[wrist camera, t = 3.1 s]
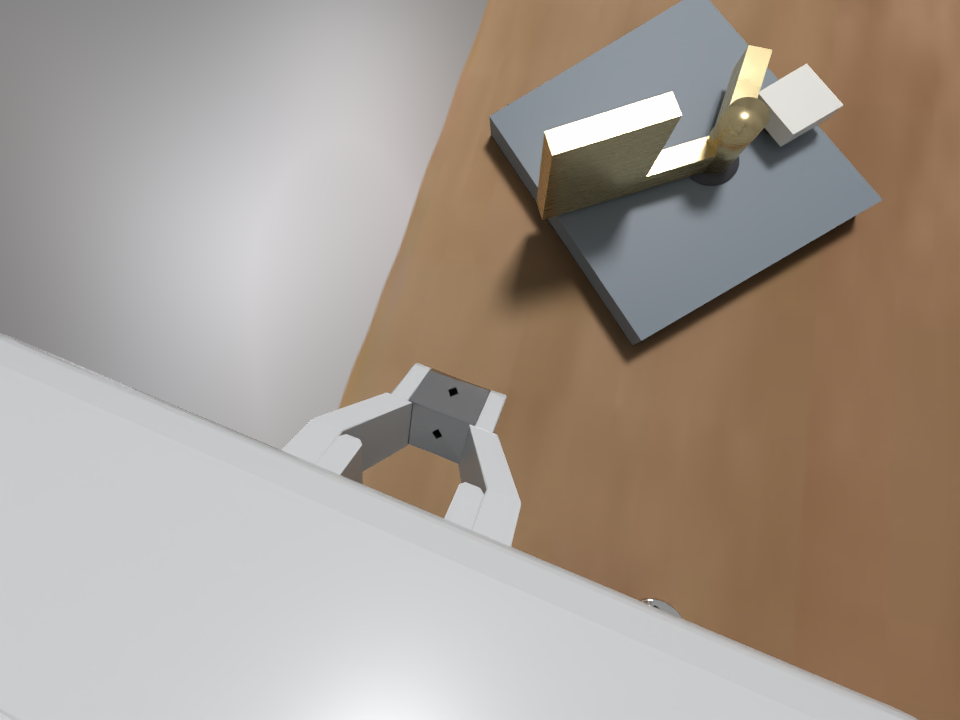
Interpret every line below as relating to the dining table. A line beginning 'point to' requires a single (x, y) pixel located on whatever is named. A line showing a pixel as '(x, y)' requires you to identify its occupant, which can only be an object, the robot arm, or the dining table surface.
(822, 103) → the cover
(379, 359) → the dining table surface
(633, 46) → the lock plate
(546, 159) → the key
